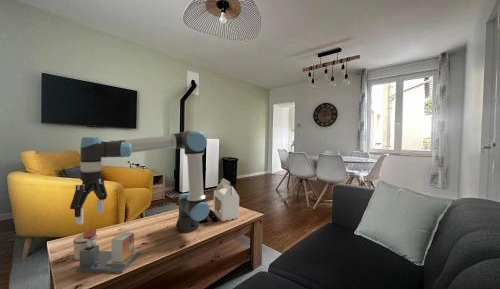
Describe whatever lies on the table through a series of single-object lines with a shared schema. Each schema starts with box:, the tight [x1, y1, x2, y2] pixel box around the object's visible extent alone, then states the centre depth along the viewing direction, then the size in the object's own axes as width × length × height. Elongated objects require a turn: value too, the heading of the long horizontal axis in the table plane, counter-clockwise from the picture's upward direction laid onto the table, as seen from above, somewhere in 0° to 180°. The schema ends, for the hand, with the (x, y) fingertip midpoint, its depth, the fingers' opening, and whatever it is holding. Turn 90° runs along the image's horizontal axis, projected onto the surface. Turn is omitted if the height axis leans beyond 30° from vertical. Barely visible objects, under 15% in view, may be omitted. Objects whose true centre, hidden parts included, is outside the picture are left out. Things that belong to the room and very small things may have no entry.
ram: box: [82, 228, 97, 250], centre depth 94 cm, size 5×5×10 cm
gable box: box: [212, 178, 240, 222], centre depth 162 cm, size 22×13×28 cm, turn 27°
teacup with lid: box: [73, 233, 97, 261], centre depth 104 cm, size 12×9×12 cm
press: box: [76, 244, 140, 274], centre depth 97 cm, size 20×14×8 cm
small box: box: [111, 231, 135, 262], centre depth 98 cm, size 8×6×10 cm
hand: (90, 218), depth 93 cm, fingers open, 12 cm apart
